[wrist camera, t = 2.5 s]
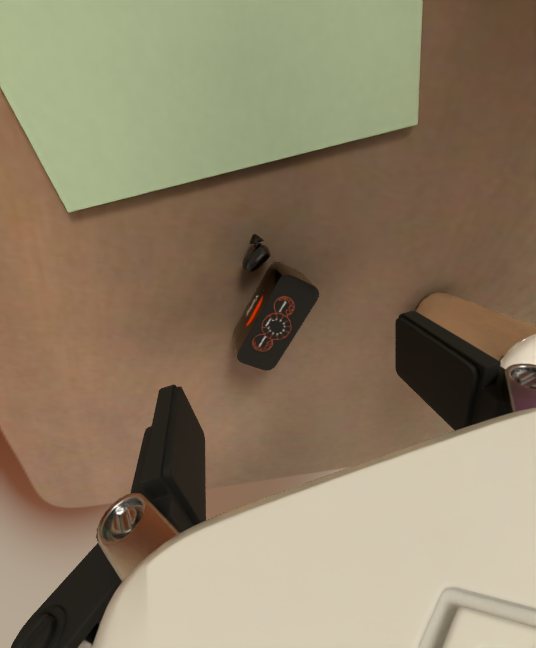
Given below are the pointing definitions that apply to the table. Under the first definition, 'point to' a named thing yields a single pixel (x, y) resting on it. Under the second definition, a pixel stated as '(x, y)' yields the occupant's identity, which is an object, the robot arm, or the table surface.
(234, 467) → the table surface
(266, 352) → the wireless earbuds
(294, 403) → the table surface
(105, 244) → the table surface
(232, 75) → the desk mat
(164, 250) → the table surface
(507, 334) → the milkshake
